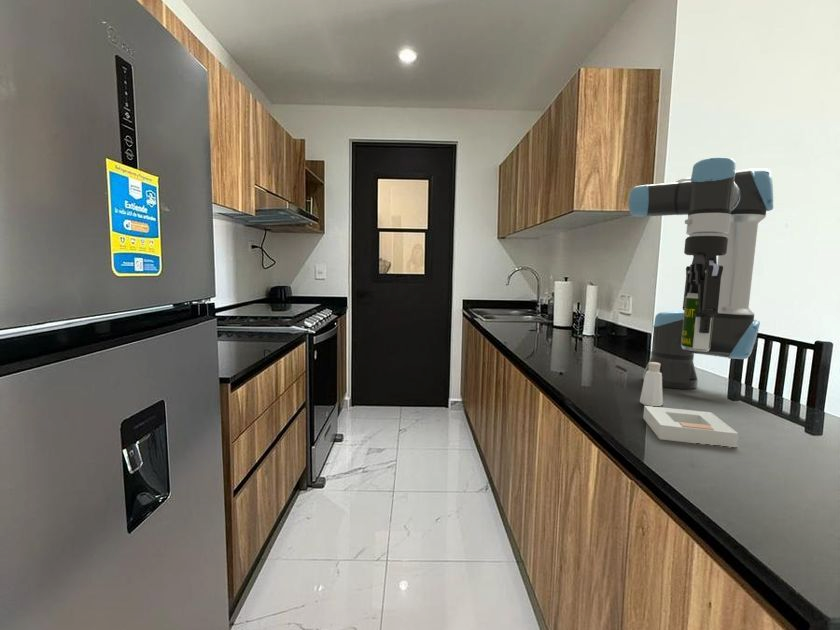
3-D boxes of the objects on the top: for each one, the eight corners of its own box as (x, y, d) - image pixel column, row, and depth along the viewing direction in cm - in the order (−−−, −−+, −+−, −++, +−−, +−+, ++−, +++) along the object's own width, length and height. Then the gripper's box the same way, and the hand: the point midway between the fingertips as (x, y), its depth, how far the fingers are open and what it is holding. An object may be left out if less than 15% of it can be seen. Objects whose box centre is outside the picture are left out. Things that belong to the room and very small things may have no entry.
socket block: (643, 418, 105) (644, 404, 105) (709, 425, 102) (711, 411, 101) (659, 439, 92) (660, 424, 91) (736, 448, 88) (738, 432, 88)
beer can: (699, 348, 98) (705, 293, 96) (715, 352, 92) (722, 294, 91) (675, 347, 98) (680, 292, 96) (689, 351, 92) (695, 293, 91)
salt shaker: (663, 408, 114) (667, 365, 113) (640, 405, 116) (644, 363, 115) (661, 402, 119) (664, 362, 118) (638, 399, 121) (642, 359, 120)
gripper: (673, 239, 102) (663, 339, 105) (702, 231, 85) (690, 352, 87) (709, 239, 101) (699, 341, 103) (748, 232, 83) (734, 355, 85)
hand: (695, 346), depth 95 cm, fingers closed on beer can, 5 cm apart
